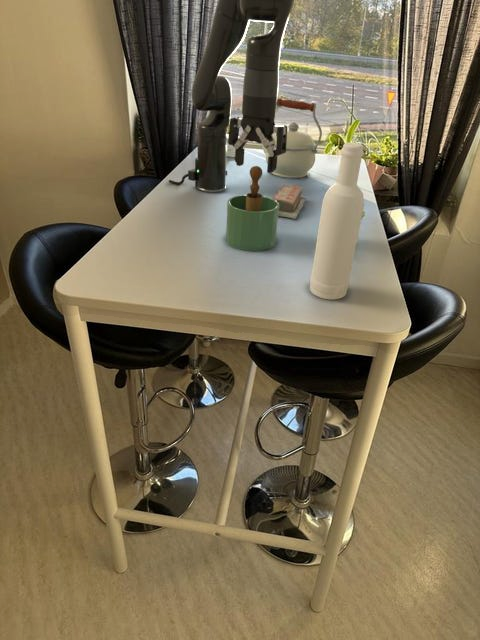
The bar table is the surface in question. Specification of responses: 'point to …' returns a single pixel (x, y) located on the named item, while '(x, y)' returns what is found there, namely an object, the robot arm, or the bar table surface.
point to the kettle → (296, 145)
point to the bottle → (339, 228)
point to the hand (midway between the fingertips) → (254, 168)
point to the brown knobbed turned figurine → (254, 191)
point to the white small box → (230, 149)
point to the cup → (251, 224)
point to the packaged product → (289, 201)
